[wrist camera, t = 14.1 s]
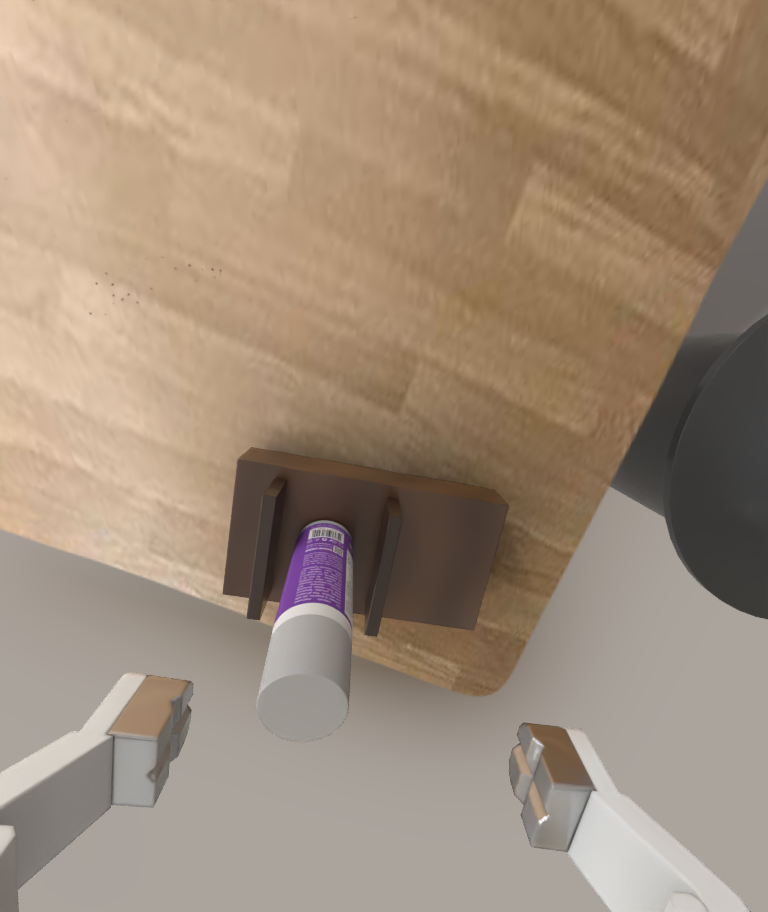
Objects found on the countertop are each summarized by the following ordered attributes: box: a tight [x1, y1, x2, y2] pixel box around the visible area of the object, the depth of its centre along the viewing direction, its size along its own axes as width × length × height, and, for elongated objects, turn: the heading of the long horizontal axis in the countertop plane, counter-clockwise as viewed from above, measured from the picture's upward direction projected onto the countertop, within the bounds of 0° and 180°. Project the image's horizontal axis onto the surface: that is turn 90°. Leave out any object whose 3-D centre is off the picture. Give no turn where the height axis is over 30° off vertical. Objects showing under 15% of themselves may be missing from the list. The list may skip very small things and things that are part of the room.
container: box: [256, 520, 353, 742], centre depth 27 cm, size 5×5×15 cm
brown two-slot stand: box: [223, 447, 509, 637], centre depth 35 cm, size 22×12×8 cm, turn 79°
